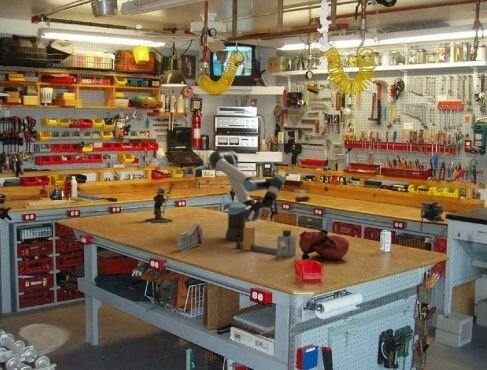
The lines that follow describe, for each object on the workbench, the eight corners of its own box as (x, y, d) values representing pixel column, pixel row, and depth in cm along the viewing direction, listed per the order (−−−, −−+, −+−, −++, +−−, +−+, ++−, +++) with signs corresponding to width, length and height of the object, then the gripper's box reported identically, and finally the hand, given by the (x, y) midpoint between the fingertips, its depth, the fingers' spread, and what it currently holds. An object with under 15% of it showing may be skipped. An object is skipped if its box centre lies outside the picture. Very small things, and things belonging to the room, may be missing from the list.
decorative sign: (180, 255, 368) (179, 231, 365) (177, 255, 369) (175, 231, 366) (203, 245, 387) (201, 222, 384) (199, 245, 388) (198, 222, 386)
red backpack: (358, 233, 351) (316, 229, 337) (352, 267, 352) (310, 264, 337) (332, 226, 372) (291, 222, 357) (327, 258, 373) (286, 255, 358)
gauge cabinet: (276, 256, 360) (277, 236, 359) (285, 253, 369) (285, 233, 367) (286, 257, 356) (287, 237, 355) (295, 254, 365) (296, 235, 363)
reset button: (282, 239, 361) (282, 230, 361) (285, 238, 364) (285, 229, 363) (287, 240, 359) (288, 231, 359) (290, 239, 362) (290, 230, 361)
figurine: (138, 222, 469) (138, 183, 465) (151, 217, 491) (151, 180, 487) (165, 224, 462) (166, 184, 459) (177, 219, 484) (178, 182, 481)
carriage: (243, 249, 376) (243, 227, 375) (248, 247, 381) (248, 225, 379) (249, 250, 373) (250, 227, 372) (254, 248, 378) (255, 226, 377)
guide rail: (235, 248, 380) (235, 242, 379) (239, 247, 384) (239, 241, 384) (278, 255, 363) (278, 249, 362) (282, 253, 367) (282, 248, 366)
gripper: (253, 189, 399) (239, 215, 389) (286, 192, 385) (273, 219, 375) (257, 197, 404) (244, 222, 394) (290, 200, 390) (277, 226, 380)
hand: (258, 220), depth 384 cm, fingers open, 13 cm apart
